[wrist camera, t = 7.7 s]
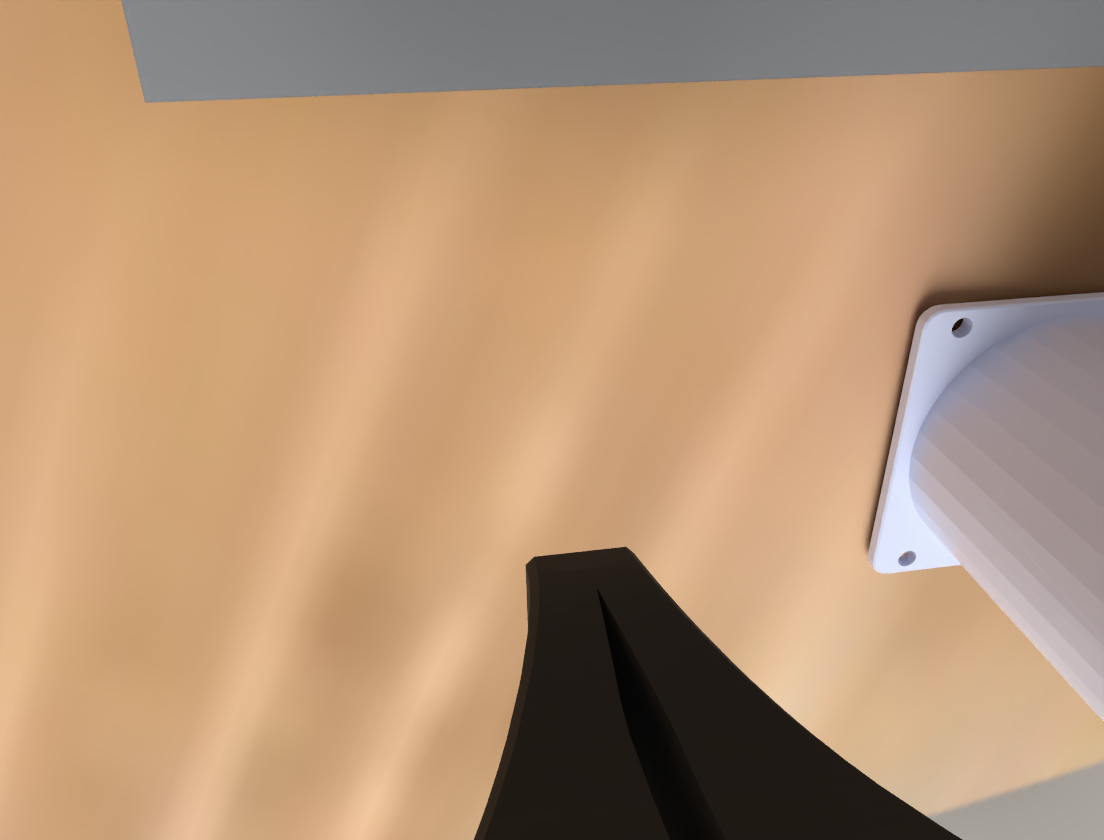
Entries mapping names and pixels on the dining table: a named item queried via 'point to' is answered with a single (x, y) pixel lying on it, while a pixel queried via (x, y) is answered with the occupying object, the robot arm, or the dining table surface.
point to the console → (583, 42)
